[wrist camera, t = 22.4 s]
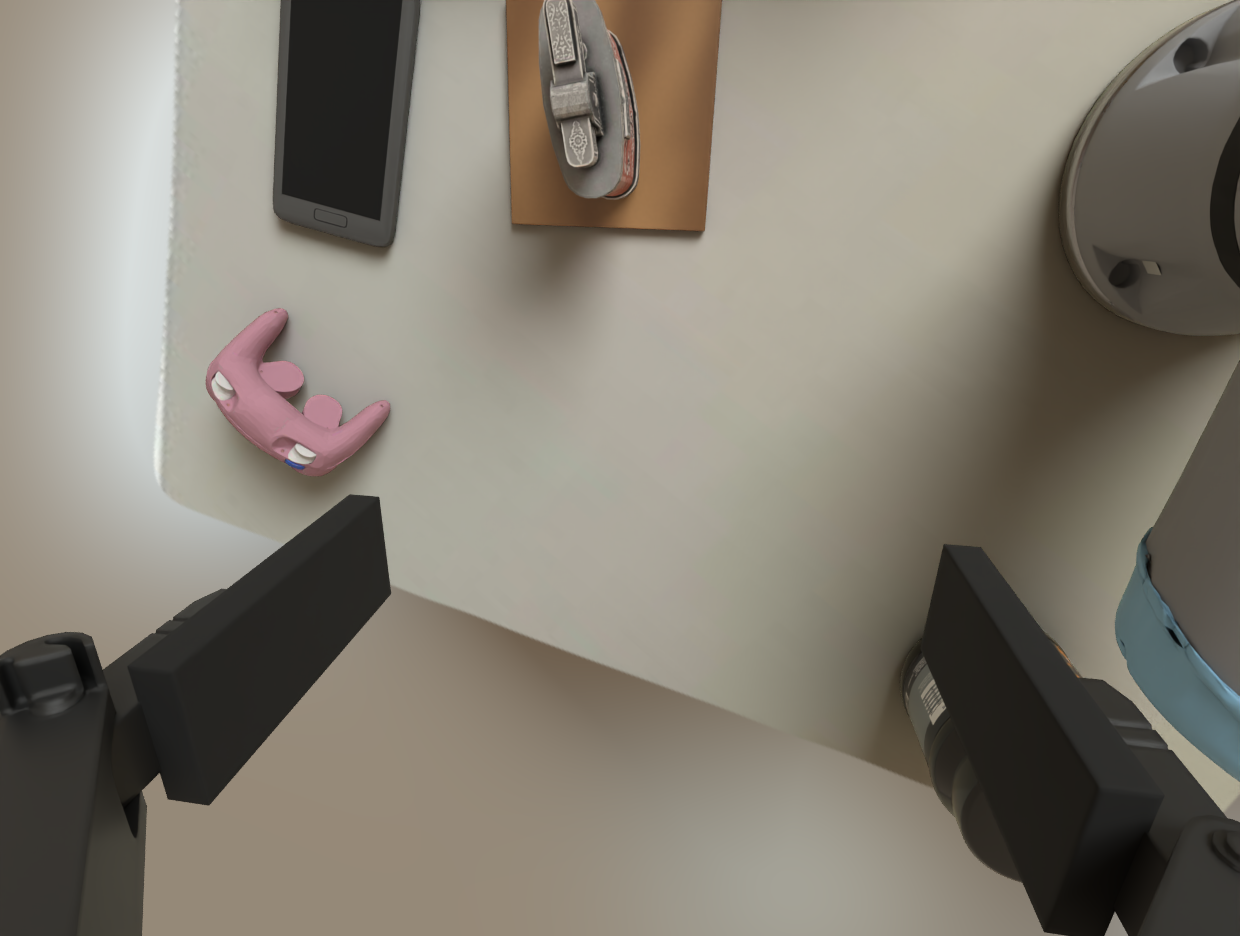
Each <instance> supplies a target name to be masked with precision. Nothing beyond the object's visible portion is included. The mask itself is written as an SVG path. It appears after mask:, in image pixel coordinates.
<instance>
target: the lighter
mask: <svg viewBox="0 0 1240 936" xmlns="http://www.w3.org/2000/svg"><path fill="white" fill-rule="evenodd" d="M539 70H540V80H541V89H542V99H543V107H544V111H545V116H546V120H547V124H548V129H549V133H550V137H551V142H552V146H553V149H554V152H555V155H556V157H557V160H558V163H559V166H560V169H561V172H562V175H563V178H564V181H565V182H566V184H567V186H568V188H569V189H570V190H571V191H573V192H574V193H575V194H576V195H579V196H582V197H584V198H600V197H602V198H605V199H609V200H619V199H622V198H625V197H627V196H628V195H629V194H631V193H632V192H633V191H634V189H635V188H636V186H637V184H638V180H639V168H640V147H641V146H640V129H639V113H638V108H637V102H636V97H635V92H634V86H633V81H632V77H631V74H630V70H629V67H628V64H627V60H626V57H625V54H624V50H623V47H622V45H621V44H620V42H619V40H618V38H617V36H616V35H614V34H613V33H612V32H611V31H610V30H607V28H606V25H605V21H604V18H603V15H602V12H601V10H600V8H599V6H598V4H597V3H596V1H595V0H544V2H543V6H542V8H541V10H540V16H539Z"/></svg>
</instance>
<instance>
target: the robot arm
mask: <svg viewBox="0 0 1240 936" xmlns="http://www.w3.org/2000/svg"><path fill="white" fill-rule="evenodd" d="M1059 226H1060V234H1061V239H1062V244H1063V248H1064V251H1065V254H1066V257H1067V260H1068V262H1069V264H1070V266H1071V268H1072V270H1073V272H1074V274H1075V275H1076V277H1077V279H1078V280H1079V282H1080V283H1081V285H1082V286H1083V287H1084V288H1085V289H1086V291H1087V292H1088V293H1089V294H1090V295H1091V296H1092V297H1093V298H1094V299H1095V300H1096V301H1097V302H1098V303H1100V304H1101V305H1102V306H1104V307H1105V308H1107V309H1108V310H1109V311H1111V312H1113V313H1115V314H1116V315H1118V316H1120V317H1122V318H1124V319H1126V320H1129V321H1131V322H1133V323H1137V324H1140V325H1143V326H1146V327H1150V328H1154V329H1157V330H1161V331H1165V332H1170V333H1175V334H1181V335H1191V336H1216V335H1232V334H1240V0H1234V1H1231V2H1228V3H1226V4H1223V5H1221V6H1218V7H1216V8H1214V9H1211V10H1209V11H1207V12H1205V13H1202V14H1200V15H1198V16H1196V17H1194V18H1192V19H1190V20H1188V21H1186V22H1185V23H1183V24H1181V25H1179V26H1177V27H1176V28H1174V29H1173V30H1171V31H1170V32H1168V33H1167V34H1165V35H1163V36H1162V37H1161V38H1159V39H1158V40H1157V41H1155V42H1154V43H1153V44H1151V45H1150V46H1149V47H1147V48H1146V49H1145V50H1144V51H1143V52H1141V53H1140V54H1139V55H1138V56H1137V57H1136V58H1135V59H1134V60H1132V61H1131V62H1130V63H1129V64H1128V65H1127V66H1126V67H1125V68H1124V69H1123V70H1122V71H1121V72H1120V74H1119V75H1118V76H1117V77H1116V78H1115V79H1114V80H1113V81H1112V83H1111V84H1110V85H1109V86H1108V87H1107V89H1106V90H1105V91H1104V92H1103V94H1102V95H1101V96H1100V98H1099V99H1098V101H1097V102H1096V103H1095V105H1094V106H1093V108H1092V109H1091V111H1090V113H1089V114H1088V116H1087V118H1086V119H1085V121H1084V123H1083V125H1082V127H1081V129H1080V131H1079V133H1078V135H1077V137H1076V139H1075V141H1074V143H1073V146H1072V149H1071V151H1070V154H1069V156H1068V160H1067V163H1066V166H1065V169H1064V173H1063V178H1062V183H1061V188H1060V197H1059ZM390 594H391V589H390V581H389V573H388V565H387V557H386V549H385V540H384V532H383V524H382V516H381V508H380V500H379V497H374V496H362V495H348V496H347V497H346V498H345V499H343V500H342V501H341V502H339V503H338V504H337V505H335V506H334V507H333V508H332V509H330V510H329V511H328V512H326V513H325V514H324V515H323V516H321V517H320V518H319V519H317V520H316V521H315V522H313V523H312V524H311V525H310V526H308V527H307V528H306V529H304V530H303V531H302V532H300V533H299V534H298V535H297V536H295V537H294V538H293V539H291V540H290V541H289V542H287V543H286V544H285V545H284V546H282V547H281V548H280V549H278V550H277V551H276V552H275V553H273V554H272V555H271V556H269V557H268V558H267V559H265V560H264V561H263V562H262V563H260V564H259V565H258V566H256V567H255V568H254V569H252V570H251V571H250V572H249V573H247V574H246V575H245V576H243V577H242V578H241V579H240V580H238V581H237V582H236V583H234V584H233V585H232V586H230V587H229V588H228V589H220V590H218V591H216V592H214V593H212V594H210V595H207V596H205V597H203V598H201V599H199V600H197V601H195V602H193V603H192V604H190V605H189V606H188V607H186V608H185V609H184V610H182V611H181V612H180V613H178V614H177V615H176V616H174V617H173V620H172V621H171V620H169V621H168V622H166V623H165V624H164V625H162V626H161V627H160V628H158V629H157V630H156V633H155V634H153V633H152V634H150V635H149V636H148V637H146V638H145V639H143V640H142V641H141V642H140V643H138V644H137V645H135V646H134V647H133V648H131V649H130V650H129V651H127V652H126V653H125V654H123V655H122V656H121V657H119V658H118V659H117V660H115V661H114V662H113V663H111V664H110V665H109V666H108V667H106V668H105V669H103V670H102V667H101V664H100V660H99V657H98V654H97V651H96V648H95V645H94V642H93V639H92V637H91V636H89V635H86V634H84V633H77V632H64V633H58V634H51V635H46V636H43V637H40V638H37V639H33V640H30V641H27V642H25V643H23V644H21V645H18V646H16V647H14V648H12V649H10V650H8V651H6V652H5V653H3V654H2V655H0V936H142V918H143V892H144V866H145V839H146V813H147V805H146V803H145V799H144V796H143V793H142V790H143V789H144V788H145V787H146V786H147V785H148V784H149V783H150V782H151V781H152V780H153V779H154V778H155V777H156V776H157V775H158V773H160V775H161V778H162V781H163V785H164V787H165V791H166V794H167V798H168V799H169V800H176V801H183V802H189V803H196V804H202V805H210V804H211V803H212V802H213V800H214V799H215V798H216V797H217V796H218V795H219V793H220V792H221V791H222V790H223V789H224V788H225V786H226V785H227V784H228V783H229V782H230V781H231V779H232V778H233V777H234V776H235V775H236V773H237V772H238V771H239V770H240V769H241V768H242V766H243V765H244V764H245V763H246V762H247V761H248V760H249V759H250V757H251V756H252V755H253V754H254V753H255V752H256V750H257V749H258V748H259V747H260V746H261V745H262V743H263V742H264V741H265V740H266V739H267V737H268V736H269V735H270V734H271V733H272V732H273V731H274V729H275V728H276V727H277V726H278V725H279V723H280V722H281V721H282V720H283V719H284V718H285V717H286V715H287V714H288V713H289V712H290V711H291V710H292V709H293V707H294V706H295V705H296V704H297V702H298V701H299V700H300V699H301V698H302V697H303V696H304V695H305V693H306V692H307V691H308V690H309V689H310V688H311V686H312V685H313V684H314V683H315V681H317V679H318V678H319V677H320V676H321V675H322V674H323V672H324V671H325V670H326V669H327V668H328V667H329V665H330V664H331V663H332V662H333V661H334V660H335V659H336V657H337V656H338V655H339V654H340V653H341V652H342V650H343V649H344V648H345V647H346V646H347V645H348V643H349V642H350V641H351V640H352V639H353V638H354V636H355V635H356V634H357V633H358V632H359V631H360V629H361V628H362V627H363V626H364V625H365V623H366V622H367V621H368V620H369V619H370V617H372V615H373V614H374V613H375V612H376V611H377V610H378V608H379V607H380V606H381V605H382V604H383V603H384V602H385V600H386V599H387V598H388V597H389V596H390ZM1115 634H1116V640H1117V643H1118V645H1119V648H1120V650H1121V652H1122V655H1123V656H1124V658H1125V659H1126V660H1127V667H1128V670H1129V672H1130V674H1131V676H1132V677H1133V679H1134V680H1135V682H1136V683H1137V685H1138V686H1139V687H1140V689H1141V690H1142V692H1143V693H1144V694H1145V696H1146V697H1147V698H1148V699H1149V701H1150V702H1151V703H1152V704H1153V705H1154V707H1155V708H1156V709H1157V710H1158V711H1159V712H1160V713H1161V714H1162V716H1163V717H1164V718H1165V719H1166V720H1167V721H1168V722H1169V723H1170V724H1171V725H1172V726H1173V727H1174V728H1175V729H1176V730H1177V731H1178V732H1179V733H1180V734H1181V735H1183V736H1184V737H1185V738H1186V739H1187V740H1188V741H1189V742H1190V743H1191V744H1193V745H1194V746H1195V747H1196V748H1197V749H1198V750H1200V751H1201V752H1202V753H1203V754H1204V755H1206V756H1207V757H1208V758H1209V759H1211V760H1212V761H1213V762H1214V763H1215V764H1217V765H1218V766H1219V767H1221V768H1222V769H1223V770H1224V771H1226V772H1227V773H1228V774H1230V775H1231V776H1232V777H1234V778H1235V779H1237V780H1238V781H1239V782H1240V361H1239V362H1238V364H1237V366H1236V368H1235V370H1234V372H1233V374H1232V376H1231V378H1230V380H1229V382H1228V384H1227V386H1226V388H1225V390H1224V392H1223V394H1222V396H1221V398H1220V400H1219V402H1218V404H1217V406H1216V408H1215V410H1214V412H1213V414H1212V416H1211V418H1210V420H1209V422H1208V424H1207V426H1206V428H1205V430H1204V432H1203V433H1202V435H1201V437H1200V439H1199V441H1198V443H1197V445H1196V447H1195V449H1194V451H1193V453H1192V455H1191V457H1190V459H1189V461H1188V463H1187V465H1186V467H1185V469H1184V471H1183V473H1182V475H1181V477H1180V479H1179V481H1178V483H1177V484H1176V486H1175V488H1174V490H1173V492H1172V494H1171V496H1170V497H1169V499H1168V501H1167V503H1166V505H1165V507H1164V509H1163V510H1162V512H1161V514H1160V516H1159V518H1158V520H1157V522H1156V523H1155V525H1154V527H1151V528H1150V529H1149V530H1148V531H1147V533H1146V534H1145V535H1144V537H1143V538H1142V540H1141V542H1140V544H1139V545H1138V550H1137V558H1136V566H1135V569H1134V571H1133V574H1132V576H1131V579H1130V581H1129V583H1128V586H1127V588H1126V590H1125V592H1124V594H1123V597H1122V599H1121V601H1120V603H1119V606H1118V609H1117V612H1116V619H1115ZM920 649H921V651H922V654H923V656H924V658H925V661H926V663H927V665H928V667H929V670H930V672H931V674H932V677H933V679H934V681H935V683H936V686H937V688H938V690H939V693H940V695H941V697H942V699H943V702H944V704H945V706H946V709H947V711H948V713H949V715H950V718H951V720H952V722H953V725H954V727H955V729H956V731H957V734H958V736H959V738H960V741H961V743H962V745H963V747H964V750H965V752H966V754H967V757H968V759H969V761H970V764H971V766H972V768H973V770H974V773H975V775H976V777H977V780H978V782H979V784H980V786H981V789H982V791H983V793H984V796H985V798H986V800H987V802H988V805H989V807H990V809H991V812H992V814H993V816H994V818H995V821H996V823H997V825H998V828H999V830H1000V832H1001V834H1002V837H1003V839H1004V841H1005V844H1006V846H1007V848H1008V850H1009V853H1010V855H1011V857H1012V860H1013V862H1014V864H1015V867H1016V869H1017V871H1018V873H1019V876H1020V878H1021V880H1022V883H1023V885H1024V887H1025V889H1026V892H1027V894H1028V896H1029V898H1030V901H1031V903H1032V905H1033V908H1034V910H1035V912H1036V915H1037V917H1038V919H1039V921H1040V923H1041V926H1042V928H1043V931H1044V932H1047V933H1053V934H1060V935H1066V936H1104V935H1105V933H1106V931H1107V928H1108V926H1109V924H1110V921H1111V919H1112V917H1113V914H1114V912H1116V914H1117V916H1118V918H1119V919H1120V921H1121V923H1122V925H1123V927H1124V928H1125V930H1126V932H1127V934H1128V936H1240V822H1238V821H1235V820H1233V819H1228V818H1227V817H1226V816H1225V815H1224V813H1223V812H1222V811H1221V810H1220V809H1219V807H1218V806H1217V805H1216V804H1215V802H1214V801H1213V800H1212V799H1211V798H1210V796H1209V795H1208V794H1207V793H1206V791H1205V790H1204V789H1203V788H1202V786H1201V785H1200V784H1199V783H1198V782H1197V780H1196V779H1195V778H1194V777H1193V775H1192V774H1191V773H1190V772H1189V771H1188V769H1187V768H1186V767H1185V766H1184V764H1183V763H1182V762H1181V761H1180V760H1179V758H1178V757H1177V756H1176V755H1175V753H1174V752H1173V751H1172V750H1168V745H1167V744H1166V742H1165V741H1164V740H1163V739H1162V737H1161V736H1160V735H1159V734H1158V733H1157V731H1156V730H1152V725H1151V724H1150V723H1149V722H1148V720H1147V719H1146V718H1145V717H1144V715H1143V714H1142V713H1141V712H1140V711H1139V709H1138V708H1137V707H1136V706H1135V704H1134V703H1133V702H1132V701H1131V700H1129V699H1128V698H1127V697H1125V696H1124V695H1122V694H1121V693H1120V692H1118V691H1117V690H1116V689H1114V688H1113V687H1112V686H1110V685H1109V684H1108V683H1106V682H1105V681H1103V680H1098V679H1088V678H1079V677H1077V676H1076V675H1075V674H1074V672H1073V671H1072V670H1071V668H1070V667H1069V666H1068V664H1067V663H1066V661H1065V660H1064V659H1063V657H1062V656H1061V655H1060V653H1059V652H1058V651H1057V649H1056V648H1055V647H1054V645H1053V644H1052V643H1051V641H1050V640H1049V639H1048V637H1047V636H1046V635H1045V633H1044V632H1043V631H1042V629H1041V628H1040V626H1039V625H1038V624H1037V622H1036V621H1035V620H1034V618H1033V617H1032V616H1031V614H1030V613H1029V612H1028V610H1027V609H1026V608H1025V606H1024V605H1023V604H1022V602H1021V601H1020V600H1019V598H1018V597H1017V595H1016V594H1015V593H1014V591H1013V590H1012V589H1011V587H1010V586H1009V585H1008V583H1007V582H1006V581H1005V579H1004V578H1003V577H1002V575H1001V574H1000V573H999V571H998V570H997V569H996V567H995V566H994V564H993V563H992V562H991V560H990V559H989V558H988V556H987V555H986V554H985V552H984V551H983V550H982V548H981V547H971V546H959V545H947V544H944V545H943V550H942V554H941V559H940V563H939V568H938V572H937V576H936V581H935V585H934V590H933V594H932V599H931V603H930V607H929V612H928V616H927V621H926V625H925V630H924V634H923V638H922V643H921V647H920Z"/></svg>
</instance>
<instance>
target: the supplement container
mask: <svg viewBox="0 0 1240 936" xmlns="http://www.w3.org/2000/svg"><path fill="white" fill-rule="evenodd" d="M1042 631H1043V630H1042ZM1043 632H1044V631H1043ZM1044 633H1045V632H1044ZM1045 635H1046V636H1047V637H1048V639H1049V640H1050V641H1051V643H1052V644H1053V645H1054V647H1055V648H1056V649H1057V651H1058V652H1059V653H1060V655H1061V656H1062V657H1063V659H1064V660H1065V661H1066V663H1067V664H1068V666H1069V667H1070V668H1071V670H1072V671H1073V672H1074V674H1075V675H1076V676H1077V677H1079V678H1082V676H1081V675H1080V674H1079V672H1078V671H1077V670H1076V669H1075V667H1074V666H1073V665H1072V663H1071V662H1070V661H1069V659H1068V657H1067V656H1066V654H1065V653H1064V651H1063V650H1062V648H1061V647H1060V646H1059V645H1058V644H1057V643H1056V641H1055V640H1054V639H1053V638H1051V637H1050V636H1049V635H1048V634H1047V633H1045ZM921 643H922V639H921V640H920V641H919V642H918V643H917V644H916V645H915V646H914V647H913V649H912V650H911V651H910V653H909V654H908V656H907V658H906V660H905V663H904V665H903V668H902V672H901V678H900V691H901V697H902V701H903V704H904V707H905V709H906V712H907V714H908V716H909V717H910V719H911V722H912V725H913V727H914V730H915V732H916V735H917V738H918V740H919V743H920V746H921V748H922V751H923V754H924V756H925V759H926V761H927V764H928V767H929V771H930V777H931V781H932V784H933V787H934V789H935V791H936V793H937V795H938V797H939V799H940V800H941V802H942V804H943V805H944V806H945V807H946V808H947V809H948V811H949V812H950V813H951V814H952V815H953V816H954V817H955V818H956V820H957V823H958V825H959V828H960V831H961V833H962V836H963V838H964V840H965V843H966V844H967V846H968V848H969V849H970V850H971V852H972V853H973V854H974V856H975V857H977V858H978V859H979V860H980V861H981V862H982V863H983V864H984V865H986V866H987V867H988V868H990V869H991V870H993V871H994V872H997V873H998V874H1000V875H1002V876H1004V877H1007V878H1010V879H1012V880H1015V881H1018V882H1022V880H1021V878H1020V876H1019V873H1018V871H1017V869H1016V867H1015V864H1014V862H1013V860H1012V857H1011V855H1010V853H1009V850H1008V848H1007V846H1006V844H1005V841H1004V839H1003V837H1002V834H1001V832H1000V830H999V828H998V825H997V823H996V821H995V818H994V816H993V814H992V812H991V809H990V807H989V805H988V802H987V800H986V798H985V796H984V793H983V791H982V789H981V786H980V784H979V782H978V780H977V777H976V775H975V773H974V770H973V768H972V766H971V764H970V761H969V759H968V757H967V754H966V752H965V750H964V747H963V745H962V743H961V741H960V738H959V736H958V734H957V731H956V729H955V727H954V725H953V722H952V720H951V718H950V715H949V713H948V711H947V709H946V706H945V704H944V702H943V699H942V697H941V695H940V693H939V690H938V688H937V686H936V683H935V681H934V679H933V677H932V674H931V672H930V670H929V667H928V665H927V663H926V661H925V658H924V656H923V654H922V651H921V649H920V647H921Z"/></svg>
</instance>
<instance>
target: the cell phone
mask: <svg viewBox="0 0 1240 936" xmlns="http://www.w3.org/2000/svg"><path fill="white" fill-rule="evenodd" d="M419 14H420V0H281V9H280V34H279V59H278V84H277V109H276V134H275V159H274V184H273V209H274V212H275V214H276V215H277V216H278V217H279V218H280V219H282V220H285V221H287V222H290V223H292V224H296V225H299V226H303V227H306V228H310V229H314V230H317V231H321V232H324V233H328V234H332V235H335V236H339V237H342V238H346V239H350V240H353V241H357V242H360V243H364V244H368V245H371V246H376V247H385V246H388V245H391V244H392V242H393V238H394V235H395V231H396V221H397V212H398V203H399V194H400V185H401V176H402V167H403V158H404V149H405V140H406V131H407V122H408V113H409V104H410V95H411V86H412V77H413V68H414V59H415V50H416V41H417V32H418V23H419Z"/></svg>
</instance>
